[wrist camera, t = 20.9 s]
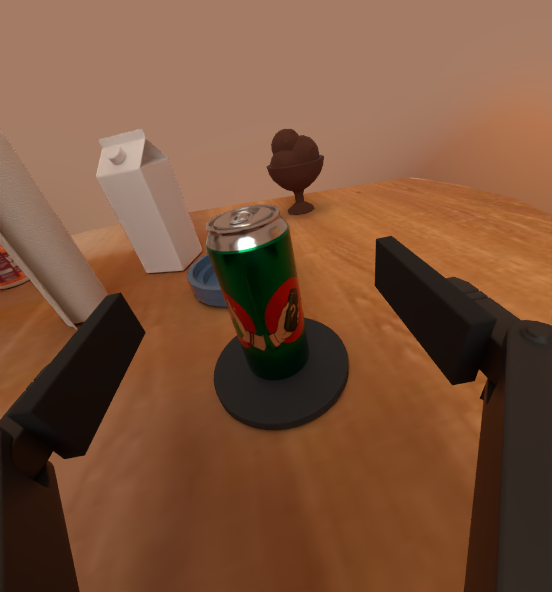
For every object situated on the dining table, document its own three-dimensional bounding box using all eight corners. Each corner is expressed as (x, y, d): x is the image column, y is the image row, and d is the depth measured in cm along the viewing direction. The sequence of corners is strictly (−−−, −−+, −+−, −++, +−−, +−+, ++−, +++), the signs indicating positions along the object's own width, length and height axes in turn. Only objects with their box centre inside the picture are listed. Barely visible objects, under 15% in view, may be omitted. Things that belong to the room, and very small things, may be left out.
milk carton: (169, 254, 49) (116, 136, 38) (203, 251, 47) (157, 126, 36) (146, 274, 43) (77, 142, 33) (184, 271, 41) (123, 131, 31)
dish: (241, 322, 28) (234, 301, 26) (176, 292, 36) (167, 275, 35) (312, 264, 35) (309, 245, 34) (244, 250, 44) (240, 234, 42)
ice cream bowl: (283, 223, 51) (267, 134, 43) (271, 209, 60) (257, 134, 52) (334, 210, 52) (329, 120, 44) (316, 198, 61) (308, 122, 53)
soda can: (309, 335, 23) (287, 196, 17) (311, 383, 19) (283, 224, 13) (253, 340, 24) (212, 209, 18) (244, 387, 20) (185, 240, 13)
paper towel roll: (93, 297, 40) (-22, 133, 28) (122, 298, 38) (12, 122, 26) (47, 329, 34) (-119, 143, 22) (78, 333, 32) (-87, 129, 20)
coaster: (293, 466, 16) (291, 459, 15) (190, 383, 22) (187, 377, 22) (372, 347, 22) (372, 340, 21) (273, 310, 29) (272, 304, 28)
